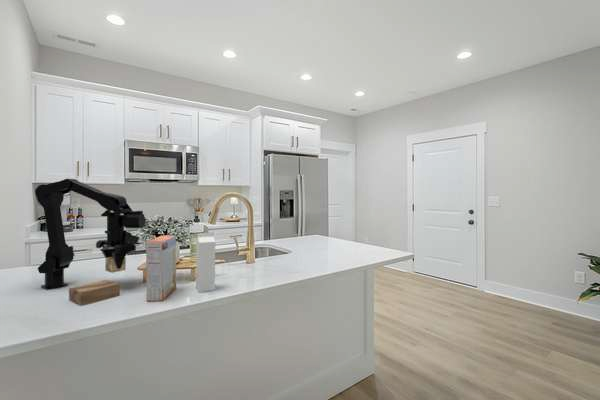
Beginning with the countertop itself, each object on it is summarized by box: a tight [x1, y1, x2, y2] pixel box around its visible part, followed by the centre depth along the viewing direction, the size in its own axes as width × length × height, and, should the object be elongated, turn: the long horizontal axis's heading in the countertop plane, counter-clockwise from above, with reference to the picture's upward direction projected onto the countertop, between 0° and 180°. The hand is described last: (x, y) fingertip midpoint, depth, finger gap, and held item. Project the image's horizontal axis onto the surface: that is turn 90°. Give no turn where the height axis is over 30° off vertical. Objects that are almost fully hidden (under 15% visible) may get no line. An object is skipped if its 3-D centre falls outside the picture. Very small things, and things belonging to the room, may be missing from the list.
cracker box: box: [145, 234, 177, 302], centre depth 107 cm, size 14×6×21 cm, turn 5°
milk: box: [195, 232, 216, 294], centre depth 114 cm, size 6×6×22 cm
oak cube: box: [104, 256, 127, 274], centre depth 115 cm, size 5×5×5 cm
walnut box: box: [68, 279, 121, 306], centre depth 103 cm, size 9×12×4 cm
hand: (115, 267), depth 115 cm, fingers closed on oak cube, 5 cm apart
